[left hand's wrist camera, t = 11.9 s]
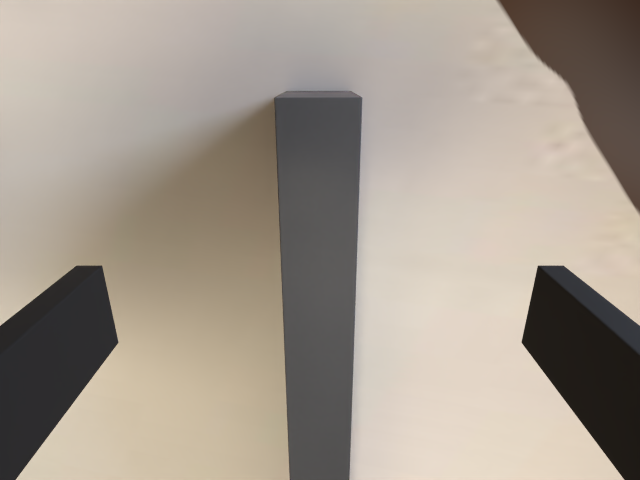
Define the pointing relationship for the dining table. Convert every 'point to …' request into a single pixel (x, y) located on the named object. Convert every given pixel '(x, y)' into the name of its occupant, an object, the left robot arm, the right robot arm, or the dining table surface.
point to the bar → (318, 273)
